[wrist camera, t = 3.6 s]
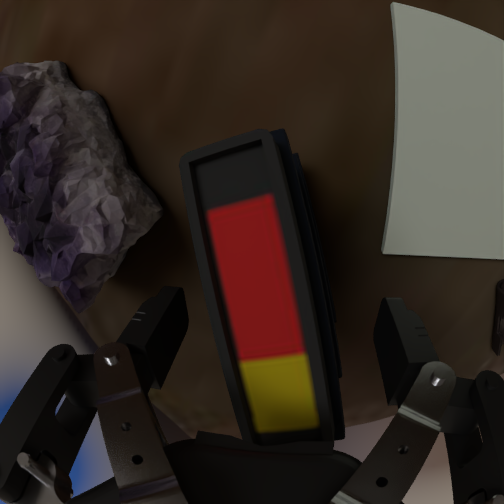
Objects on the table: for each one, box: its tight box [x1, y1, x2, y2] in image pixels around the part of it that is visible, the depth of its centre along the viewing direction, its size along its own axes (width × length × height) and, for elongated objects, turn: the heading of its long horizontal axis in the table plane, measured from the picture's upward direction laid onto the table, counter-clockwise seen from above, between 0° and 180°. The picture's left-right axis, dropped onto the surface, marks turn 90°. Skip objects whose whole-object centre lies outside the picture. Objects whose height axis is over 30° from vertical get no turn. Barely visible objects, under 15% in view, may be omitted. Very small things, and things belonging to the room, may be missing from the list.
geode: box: [0, 61, 163, 313], centre depth 17 cm, size 20×12×10 cm, turn 29°
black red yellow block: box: [179, 129, 345, 447], centre depth 16 cm, size 4×13×15 cm, turn 18°
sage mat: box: [381, 2, 504, 259], centre depth 15 cm, size 18×14×1 cm
